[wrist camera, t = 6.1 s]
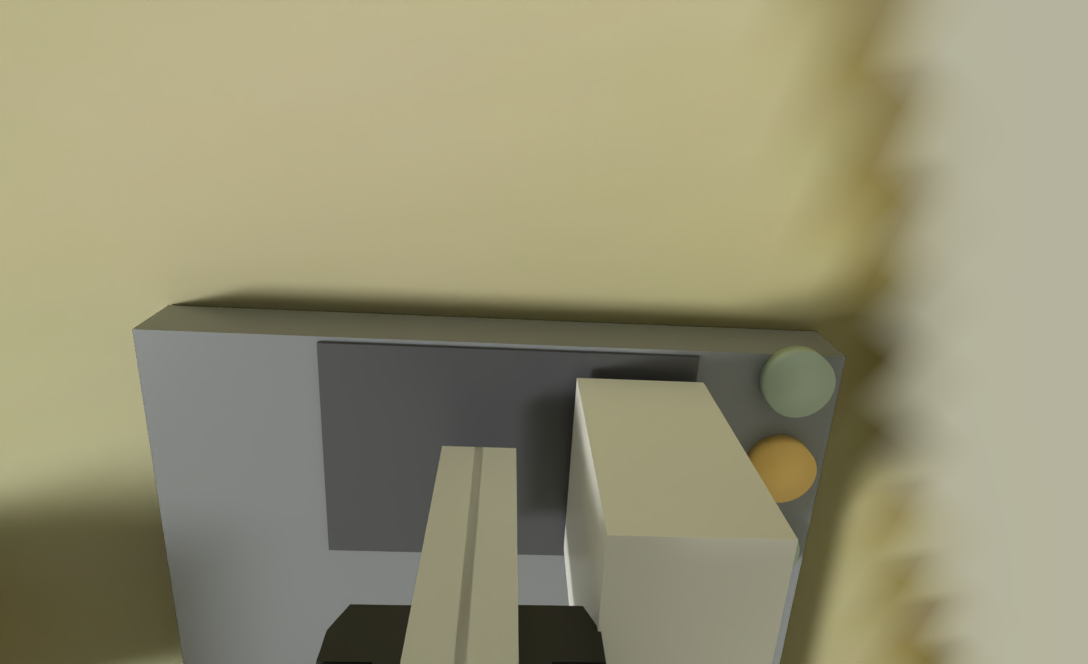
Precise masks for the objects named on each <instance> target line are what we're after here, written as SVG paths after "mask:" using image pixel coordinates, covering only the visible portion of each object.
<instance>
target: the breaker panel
mask: <svg viewBox="0 0 1088 664" xmlns="http://www.w3.org/2000/svg"><path fill="white" fill-rule="evenodd" d="M132 331H133V338H134V344H135V351H136V357H137V364H138V370H139V377H140V383H141V390H142V396H143V403H144V409H145V416H146V422H147V429H148V435H149V442H150V449H151V455H152V462H153V468H154V475H155V481H156V488H157V494H158V501H159V507H160V514H161V520H162V527H163V533H164V540H165V546H166V553H167V559H168V566H169V572H170V579H171V585H172V592H173V598H174V605H175V611H176V618H177V624H178V631H179V637H180V644H181V650H182V657H183V663H184V664H316V660H317V657H318V654H319V652H320V649H321V646H322V643H323V640H324V637H325V634H326V631H327V629H328V628H329V627H330V626H331V625H332V624H333V623H334V622H335V620H336V619H337V618H338V617H339V616H340V615H341V614H342V613H343V612H344V610H345V609H346V608H347V607H348V606H349V605H350V604H367V605H412V599H413V594H414V589H415V584H416V579H417V573H418V568H419V563H420V558H421V553H422V548H423V542H424V537H425V532H426V527H427V522H428V517H429V511H430V506H431V501H432V496H433V491H434V485H435V480H436V475H437V470H438V465H439V460H440V454H441V449H442V446H463V447H494V448H516V476H517V560H518V605H560V606H569V599H568V589H567V579H566V568H565V558H564V538H565V525H566V512H567V499H568V486H569V473H570V460H571V447H572V434H573V421H574V408H575V395H576V382H577V378H596V379H623V380H651V381H679V382H703V383H704V384H705V386H706V387H707V389H708V391H709V392H710V394H711V396H712V397H713V399H714V401H715V402H716V404H717V406H718V407H719V409H720V411H721V412H722V414H723V416H724V417H725V419H726V421H727V422H728V424H729V426H730V427H731V429H732V431H733V432H734V434H735V436H736V437H737V439H738V441H739V442H740V444H741V446H742V447H743V449H744V451H745V452H746V454H747V456H748V457H749V459H750V461H751V462H752V464H753V466H754V467H755V469H756V471H757V472H758V474H759V476H760V477H761V479H762V481H763V482H764V484H765V486H766V487H767V489H768V490H769V492H770V494H771V495H772V497H773V499H774V500H775V502H776V504H777V505H778V507H779V509H780V510H781V512H782V514H783V515H784V517H785V519H786V520H787V522H788V524H789V525H790V527H791V529H792V530H793V532H794V534H795V535H796V537H797V539H798V544H797V549H796V554H795V558H794V563H793V568H792V572H791V577H790V582H789V587H788V591H787V596H786V601H785V605H784V610H783V615H782V620H781V624H780V629H779V634H778V638H777V643H776V648H775V653H774V657H773V662H772V664H780V659H781V655H782V650H783V645H784V641H785V636H786V632H787V627H788V622H789V618H790V613H791V608H792V604H793V599H794V595H795V590H796V585H797V581H798V576H799V572H800V567H801V562H802V558H803V553H804V548H805V544H806V539H807V535H808V530H809V525H810V521H811V516H812V511H813V507H814V502H815V498H816V493H817V488H818V484H819V479H820V475H821V470H822V465H823V461H824V456H825V451H826V447H827V442H828V438H829V433H830V428H831V424H832V419H833V414H834V410H835V405H836V401H837V396H838V391H839V387H840V382H841V378H842V373H843V368H844V364H845V359H846V356H844V355H843V354H842V353H841V352H840V351H839V350H837V349H836V348H835V347H834V346H833V345H832V344H831V343H829V342H828V341H827V340H826V339H825V338H824V337H822V336H821V335H820V334H819V333H818V332H817V331H795V330H770V329H746V328H721V327H696V326H671V325H647V324H622V323H597V322H572V321H547V320H523V319H498V318H473V317H448V316H423V315H399V314H374V313H349V312H324V311H300V310H275V309H250V308H225V307H200V306H176V305H168V306H167V307H165V308H164V309H162V310H161V311H159V312H158V313H156V314H155V315H153V316H152V317H150V318H149V319H147V320H146V321H144V322H142V323H141V324H139V325H138V326H136V327H135V328H133V329H132Z"/></svg>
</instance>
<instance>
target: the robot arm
mask: <svg viewBox="0 0 1088 664" xmlns="http://www.w3.org/2000/svg"><path fill="white" fill-rule="evenodd" d="M316 664H606V659H605V653H604V647H603V641H602V634H601V632H599V631H598V630H597V625H596V624H595V622H594V621H593V620H592V618H591V617H590V615H589V614H588V612H587V611H586V610H585V608H584V607H583V606H560V605H518V560H517V476H516V448H494V447H463V446H442V449H441V454H440V460H439V465H438V470H437V475H436V480H435V485H434V491H433V496H432V501H431V506H430V511H429V517H428V522H427V527H426V532H425V537H424V542H423V548H422V553H421V558H420V563H419V568H418V573H417V579H416V584H415V589H414V594H413V599H412V605H367V604H350V605H349V606H348V607H347V608H346V609H345V610H344V612H343V613H342V614H341V615H340V616H339V617H338V618H337V619H336V620H335V622H334V623H333V624H332V625H331V626H330V627H329V628H328V629H327V631H326V634H325V637H324V640H323V643H322V646H321V649H320V652H319V654H318V657H317V660H316Z"/></svg>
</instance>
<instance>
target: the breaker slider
mask: <svg viewBox="0 0 1088 664" xmlns="http://www.w3.org/2000/svg"><path fill="white" fill-rule="evenodd" d="M797 544H798V539H797V537H796V535H795V534H794V532H793V530H792V529H791V527H790V525H789V524H788V522H787V520H786V519H785V517H784V515H783V514H782V512H781V510H780V509H779V507H778V505H777V504H776V502H775V500H774V499H773V497H772V495H771V494H770V492H769V490H768V489H767V487H766V486H765V484H764V482H763V481H762V479H761V477H760V476H759V474H758V472H757V471H756V469H755V467H754V466H753V464H752V462H751V461H750V459H749V457H748V456H747V454H746V452H745V451H744V449H743V447H742V446H741V444H740V442H739V441H738V439H737V437H736V436H735V434H734V432H733V431H732V429H731V427H730V426H729V424H728V422H727V421H726V419H725V417H724V416H723V414H722V412H721V411H720V409H719V407H718V406H717V404H716V402H715V401H714V399H713V397H712V396H711V394H710V392H709V391H708V389H707V387H706V386H705V384H704V383H703V382H679V381H651V380H623V379H596V378H577V382H576V395H575V408H574V421H573V434H572V447H571V460H570V473H569V486H568V499H567V512H566V525H565V538H564V558H565V568H566V579H567V589H568V599H569V606H583V607H584V608H585V610H586V611H587V612H588V614H589V615H590V617H591V618H592V620H593V621H594V622H595V624H596V625H597V630H598V631H599V632H601V634H602V641H603V647H604V653H605V659H606V664H772V662H773V657H774V653H775V648H776V643H777V638H778V634H779V629H780V624H781V620H782V615H783V610H784V605H785V601H786V596H787V591H788V587H789V582H790V577H791V572H792V568H793V563H794V558H795V554H796V549H797Z"/></svg>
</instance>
